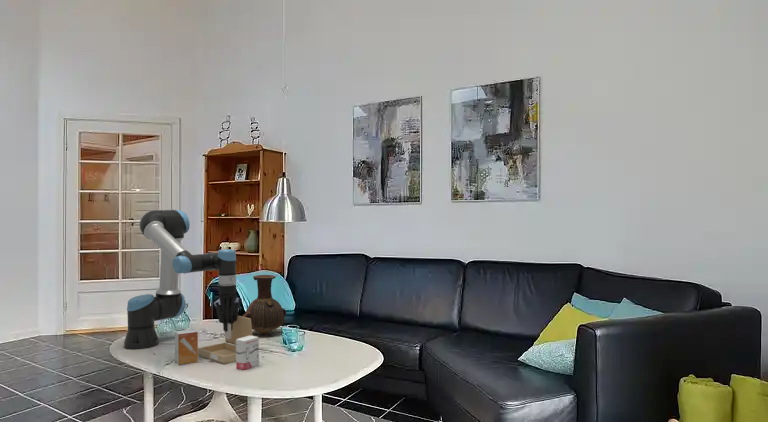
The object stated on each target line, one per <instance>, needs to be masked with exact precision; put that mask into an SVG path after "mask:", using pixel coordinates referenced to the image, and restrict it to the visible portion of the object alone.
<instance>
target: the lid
mask: <svg viewBox="0 0 768 422" xmlns="http://www.w3.org/2000/svg"><path fill="white" fill-rule="evenodd" d="M246 336H253V329H252V324H251V319H250V318H246V317H242V316H241V315H238V316H237V320H236V321H234V323H233V330H231V339H226V338H225V337H224V339H225V340H224V343H228V344H231V345H235V346H236V340H237V339H239V338H242V337H246Z"/></svg>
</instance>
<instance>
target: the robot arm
mask: <svg viewBox="0 0 768 422" xmlns="http://www.w3.org/2000/svg"><path fill="white" fill-rule="evenodd" d="M190 225H191V224H190V220H189V216H188V215H187V213H186V212H184V211H183V210H181V209H180V210H179V209H160V210H158V209H155V210H149V211H148V212H146V213H144V215H142V217H141V218H140V221H139V230H140V232H141V234H142V235H143V236H144V237H145V238H146V239H148V240H151V241H152V242H153V243H154V244H155V245H156V246H157V247H158V248H159V249H160V271H159V288H158V289H157V290H156V291H155V295H153V294H140V295H136V296H133V297H131V298H130V299H128V300H127V307H126V311H127V313H126V314H127V332H126V335H125V339H124V341H123V347H124V348H125V349H129V350H141V349H148V348H152V347H155V346H158V344H159V343H160V342H159V336H158V334H157V331H156V327H155V321H163V320H168V319H173V318H178V317H180V316H181V315H182V314H183V313H184V311H185V309H186V299H185V296H184V295H183V293H182V290H180V289H179V275H180V274H183V275H184V274H190V273H198V272H207V271H218V272H217V273H218V276H217V277H218V279H217V280H218V298H217V300H216V301H213V303H212V304H213V305H214V308H215V310H216V311H215V312H216V315H217V319H218V323H220V324H222V327H223V332H224V339H225V338H226V339H231V330H233V323H234V321H236V320H237V316H239V310H240V305H241V303H242V301H243V300H242V299H241V298H239V297H238V296H237V285H236V284H237V253H236V252H237V251H236V250H235V249H233V248H231V249H229V248H227V249H226V248H223V249H218V252H217V253H216V252H206V253H202V254H192V253H191V252H190V251H188V249H186V248H185V247H184V246H183V245H182V244H181V241H182V240H183V239H184V237H185V234H187V233H188V232H189V230H190Z"/></svg>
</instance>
